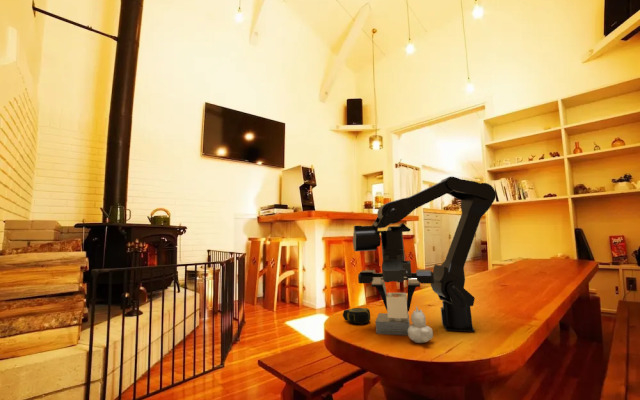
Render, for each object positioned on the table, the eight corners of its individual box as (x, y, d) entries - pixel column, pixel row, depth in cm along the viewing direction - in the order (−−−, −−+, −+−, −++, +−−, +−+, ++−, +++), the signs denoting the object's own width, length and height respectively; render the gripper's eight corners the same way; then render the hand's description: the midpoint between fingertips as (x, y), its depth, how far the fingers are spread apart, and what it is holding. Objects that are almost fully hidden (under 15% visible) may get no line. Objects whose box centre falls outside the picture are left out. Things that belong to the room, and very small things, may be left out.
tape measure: (362, 318, 86) (361, 305, 87) (375, 323, 80) (374, 310, 80) (342, 321, 84) (342, 308, 84) (354, 327, 77) (353, 313, 78)
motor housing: (409, 325, 76) (407, 298, 77) (409, 335, 69) (406, 305, 70) (379, 324, 79) (377, 298, 80) (376, 333, 71) (374, 304, 72)
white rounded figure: (426, 337, 67) (422, 302, 68) (440, 347, 61) (436, 308, 62) (404, 339, 67) (401, 303, 68) (416, 349, 60) (412, 310, 61)
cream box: (389, 311, 76) (387, 291, 77) (408, 312, 75) (406, 291, 75) (387, 317, 71) (386, 295, 72) (407, 318, 69) (405, 295, 70)
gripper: (352, 252, 70) (356, 318, 68) (432, 249, 65) (439, 321, 63) (360, 250, 81) (363, 307, 79) (429, 247, 75) (435, 308, 73)
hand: (397, 310), depth 73 cm, fingers closed on cream box, 5 cm apart
